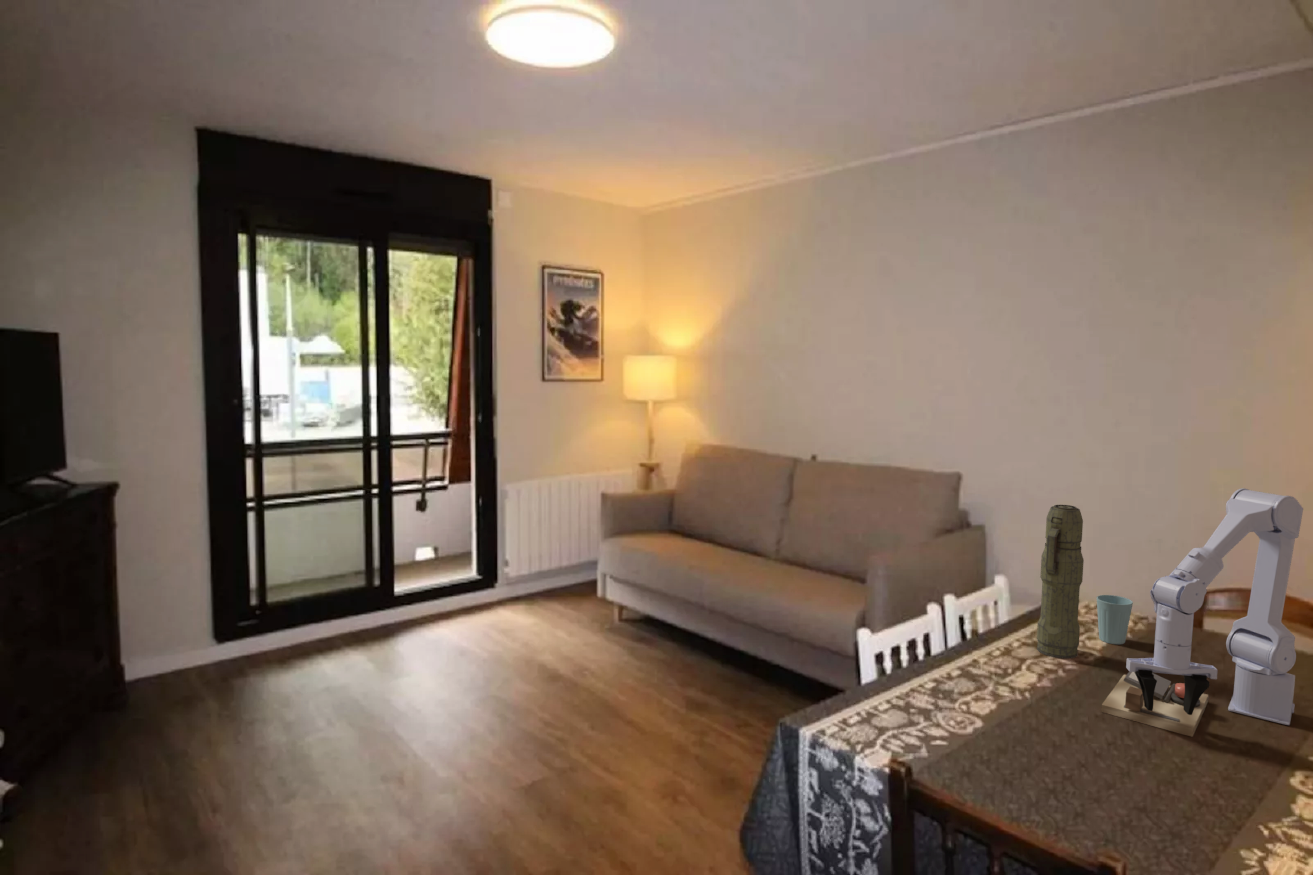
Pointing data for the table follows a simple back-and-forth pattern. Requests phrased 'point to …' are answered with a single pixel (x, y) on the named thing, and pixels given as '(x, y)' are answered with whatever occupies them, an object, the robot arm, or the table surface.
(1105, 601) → the cup
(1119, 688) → the control panel
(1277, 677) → the robot arm
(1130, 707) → the slider knob
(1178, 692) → the push button
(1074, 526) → the thermos
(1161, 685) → the paddle switch
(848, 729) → the table surface
